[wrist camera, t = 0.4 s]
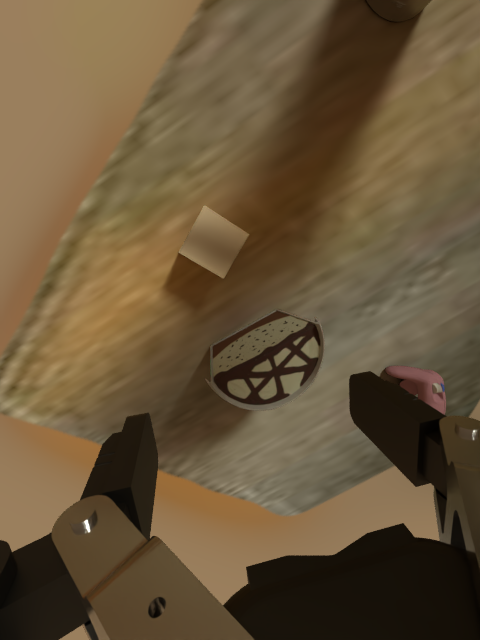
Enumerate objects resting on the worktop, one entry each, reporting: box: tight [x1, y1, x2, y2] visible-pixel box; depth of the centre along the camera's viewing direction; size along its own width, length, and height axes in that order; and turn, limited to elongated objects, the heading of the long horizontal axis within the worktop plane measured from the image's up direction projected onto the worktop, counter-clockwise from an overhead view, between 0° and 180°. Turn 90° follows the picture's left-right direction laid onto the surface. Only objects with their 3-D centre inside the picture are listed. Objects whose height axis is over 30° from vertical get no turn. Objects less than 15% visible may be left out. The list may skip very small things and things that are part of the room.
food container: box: [205, 309, 325, 411], centre depth 32 cm, size 12×6×10 cm, turn 117°
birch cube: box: [178, 205, 249, 279], centre depth 31 cm, size 5×5×5 cm
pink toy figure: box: [385, 366, 446, 415], centre depth 41 cm, size 10×5×7 cm, turn 2°
